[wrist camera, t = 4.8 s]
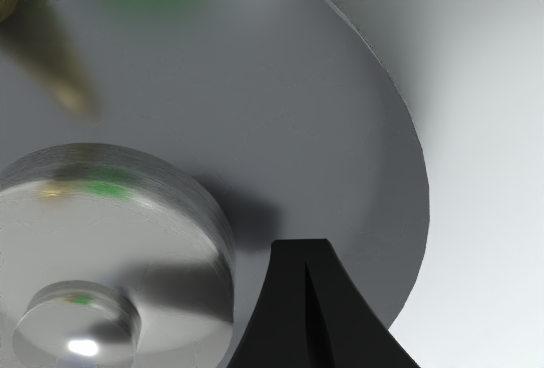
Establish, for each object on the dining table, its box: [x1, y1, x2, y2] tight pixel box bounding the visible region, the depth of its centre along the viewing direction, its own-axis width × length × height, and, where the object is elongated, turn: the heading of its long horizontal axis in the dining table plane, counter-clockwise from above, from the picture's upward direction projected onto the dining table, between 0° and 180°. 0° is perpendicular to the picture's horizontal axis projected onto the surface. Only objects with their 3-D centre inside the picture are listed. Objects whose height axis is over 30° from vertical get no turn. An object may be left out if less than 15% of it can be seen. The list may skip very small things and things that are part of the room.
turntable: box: [0, 0, 430, 368], centre depth 11 cm, size 16×16×5 cm
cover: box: [0, 143, 237, 368], centre depth 11 cm, size 6×6×3 cm
